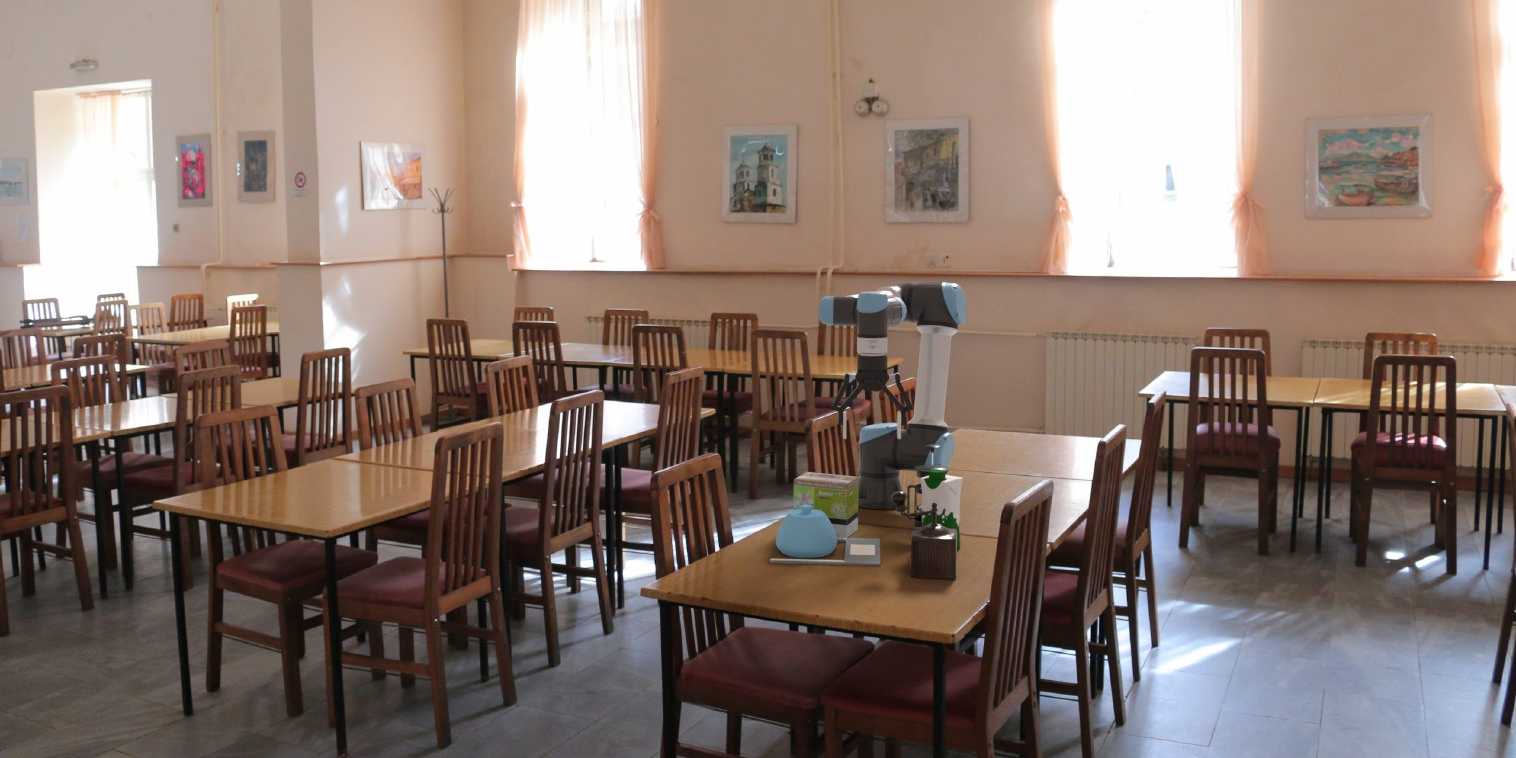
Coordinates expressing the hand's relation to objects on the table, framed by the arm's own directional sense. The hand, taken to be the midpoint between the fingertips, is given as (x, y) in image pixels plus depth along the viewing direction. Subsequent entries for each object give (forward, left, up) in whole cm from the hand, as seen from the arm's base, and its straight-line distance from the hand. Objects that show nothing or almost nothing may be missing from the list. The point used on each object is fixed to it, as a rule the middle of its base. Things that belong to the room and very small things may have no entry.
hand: (871, 438), depth 292 cm
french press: (-11, +15, -27) cm, 33 cm away
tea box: (-8, -12, -27) cm, 30 cm away
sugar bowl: (+11, -16, -27) cm, 33 cm away
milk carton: (+6, +17, -27) cm, 32 cm away
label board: (+11, -10, -26) cm, 30 cm away
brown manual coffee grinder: (+26, +12, -27) cm, 39 cm away
